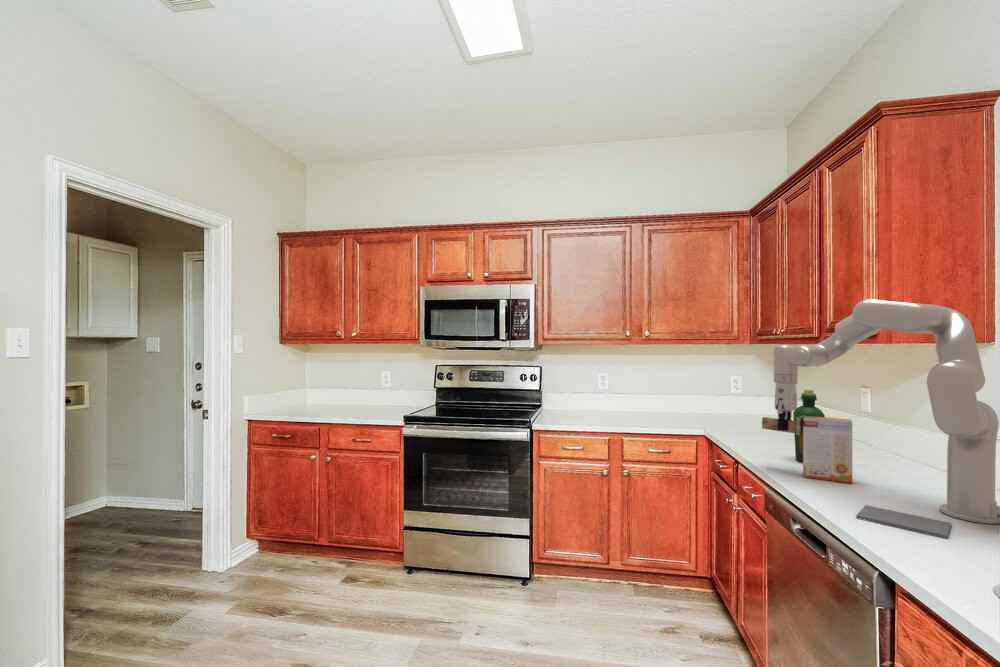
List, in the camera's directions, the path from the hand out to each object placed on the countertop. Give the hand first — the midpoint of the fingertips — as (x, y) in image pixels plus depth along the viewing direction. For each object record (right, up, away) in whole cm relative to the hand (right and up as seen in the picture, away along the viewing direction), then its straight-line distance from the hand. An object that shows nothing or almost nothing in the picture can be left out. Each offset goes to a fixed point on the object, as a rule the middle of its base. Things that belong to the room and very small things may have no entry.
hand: (784, 429), depth 177 cm
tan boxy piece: (0, -1, 0) cm, 1 cm away
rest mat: (+2, -15, -49) cm, 51 cm away
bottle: (+17, -16, +13) cm, 27 cm away
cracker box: (+9, -15, -10) cm, 20 cm away
